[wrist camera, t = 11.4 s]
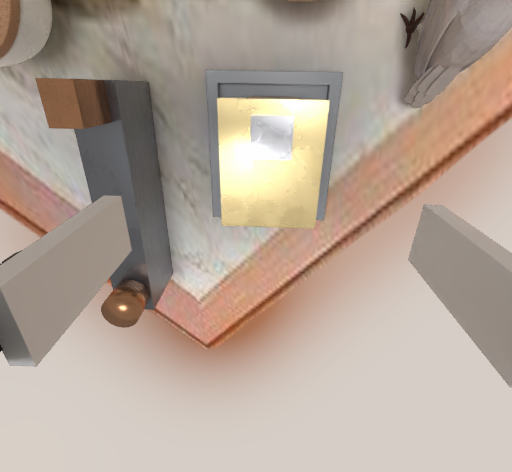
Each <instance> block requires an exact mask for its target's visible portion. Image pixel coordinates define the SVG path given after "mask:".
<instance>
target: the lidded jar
mask: <svg viewBox="0 0 512 472" xmlns="http://www.w3.org/2000/svg"><path fill="white" fill-rule="evenodd" d="M51 27H52V5H51V0H0V67H5V66H11V65H15V64H18V63H22V62H25V61H27V60H29V59H30V58H32V57H33V56H35V55H36V54H37V53H38V52H39V51H41V49H42V48H43V47H44V45H45V44H46V42H47V39H48V37H49V35H50V31H51Z"/></svg>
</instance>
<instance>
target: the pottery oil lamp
mask: <svg viewBox="0 0 512 472" xmlns="http://www.w3.org/2000/svg"><path fill="white" fill-rule="evenodd" d="M286 1H316V0H286Z"/></svg>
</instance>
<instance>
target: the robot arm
mask: <svg viewBox="0 0 512 472" xmlns="http://www.w3.org/2000/svg"><path fill="white" fill-rule="evenodd" d="M131 251H132V249H131V243H130V238H129V233H128V228H127V223H126V218H125V213H124V208H123V203H122V198H121V196H107V195H104V196H102V197H101V198H99V199H98V200H96V201H95V202H93V203H92V204H90V205H89V206H87V207H86V208H84V209H83V210H81V211H80V212H79V213H77V214H76V215H74V216H73V217H71V218H70V219H68V220H67V221H65V222H64V223H62V224H61V225H59V226H58V227H56V228H55V229H53V230H52V231H50V232H49V233H47V234H46V235H44V236H43V237H41V238H40V239H38V240H37V241H35V242H34V243H32V244H31V245H30V246H28V247H27V248H25V249H24V250H21V251H19V252H17V253H15V254H13V255H12V256H10V257H9V258H7V259H6V260H4V261H3V262H2V264H0V352H1V351H3V353H4V355H5V357H6V359H7V361H8V363H9V365H11V366H33V367H36V366H37V365H38V364H39V363H40V361H41V360H42V359H43V358H44V357H45V355H46V354H47V353H48V352H49V350H50V349H51V348H52V347H53V346H54V344H55V343H56V342H57V341H58V340H59V338H60V337H61V336H62V335H63V334H64V332H65V331H66V330H67V329H68V327H69V326H70V325H71V324H72V323H73V321H74V320H75V319H76V318H77V316H78V315H79V314H80V313H81V312H82V310H83V309H84V308H85V307H86V306H87V304H88V303H89V302H90V301H91V300H92V298H93V297H94V296H95V295H96V293H97V292H98V291H99V290H100V288H101V287H102V286H103V285H104V284H105V283H106V281H107V280H108V279H109V278H110V276H111V275H112V274H113V273H114V272H115V270H116V269H117V268H118V267H119V266H120V264H121V263H122V262H123V261H124V259H125V258H126V257H127V256H128V255H129V253H130V252H131ZM408 260H409V261H410V263H411V264H412V265H413V266H414V268H415V269H416V270H417V271H418V273H419V274H420V275H421V276H422V278H423V279H424V280H425V281H426V283H427V284H428V285H429V287H430V288H431V289H432V290H433V291H434V293H435V294H436V295H437V297H438V298H439V299H440V300H441V302H442V303H443V304H444V305H445V307H446V308H447V309H448V310H449V312H450V313H451V314H452V315H453V317H454V318H455V319H456V320H457V322H458V323H459V324H460V325H461V327H462V328H463V329H464V330H465V332H466V333H467V334H468V335H469V336H470V338H471V339H472V340H473V341H474V343H475V344H476V345H477V347H478V348H479V349H480V350H481V351H482V353H483V354H484V355H485V356H486V358H487V359H488V360H489V362H490V363H491V364H492V365H493V367H494V368H495V369H496V370H497V372H498V373H499V374H500V375H501V377H502V378H503V379H504V380H505V382H506V383H507V384H508V385H509V387H512V253H511V252H509V251H508V250H506V249H505V248H503V247H502V246H501V245H499V244H498V243H496V242H495V241H493V240H492V239H490V238H489V237H487V236H486V235H485V234H483V233H482V232H480V231H479V230H477V229H476V228H475V227H473V226H472V225H470V224H469V223H467V222H466V221H464V220H463V219H461V218H460V217H459V216H457V215H456V214H454V213H453V212H451V211H450V210H449V209H447V208H446V207H444V206H443V205H424V206H423V210H422V213H421V217H420V220H419V223H418V227H417V231H416V234H415V237H414V241H413V244H412V248H411V251H410V255H409V258H408Z"/></svg>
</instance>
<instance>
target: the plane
mask: <svg viewBox="0 0 512 472" xmlns="http://www.w3.org/2000/svg"><path fill="white" fill-rule="evenodd" d="M36 82H37V86H38V89H39V93H40V96H41V100H42V104H43V107H44V111H45V114H46V118H47V122H48V125H49V128H67V129H74V130H75V134H76V138H77V142H78V146H79V150H80V155H81V159H82V163H83V167H84V171H85V175H86V179H87V183H88V188H89V192H90V196H91V200H92V203H93V202H95V201H96V200H98V199H99V198H101V197H102V196H104V195H107V196H121V198H122V203H123V208H124V213H125V218H126V223H127V228H128V233H129V238H130V243H131V249H132V251H131V252H130V253H129V255H128V256H127V257H126V258H125V259H124V261H123V262H122V263H121V264H120V266H119V267H118V268H117V269H116V270H115V272H114V273H113V274H112V275H111V276H110V278H111V282H112V287H113V292H112V293H111V294H110V295H109V297H108V298H107V299H106V300H105V302H104V303H103V305H102V307H101V312H102V315H103V316H104V318H105V319H106V320H107V321H108V322H109V323H111V324H113V325H115V326H118V327H130V326H133V325H134V324H136V322H137V321H138V319H139V317H140V316H141V314H142V312H143V310H144V309H152V310H154V309H155V307H156V305H157V303H158V301H159V299H160V297H161V295H162V293H163V292H164V290H165V288H166V286H167V284H168V282H169V280H170V278H171V276H172V274H173V270H172V262H171V255H170V247H169V239H168V231H167V223H166V216H165V208H164V200H163V192H162V185H161V177H160V169H159V161H158V153H157V146H156V138H155V130H154V122H153V115H152V107H151V99H150V91H149V83H148V82H142V81H118V80H87V79H50V78H36Z"/></svg>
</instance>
